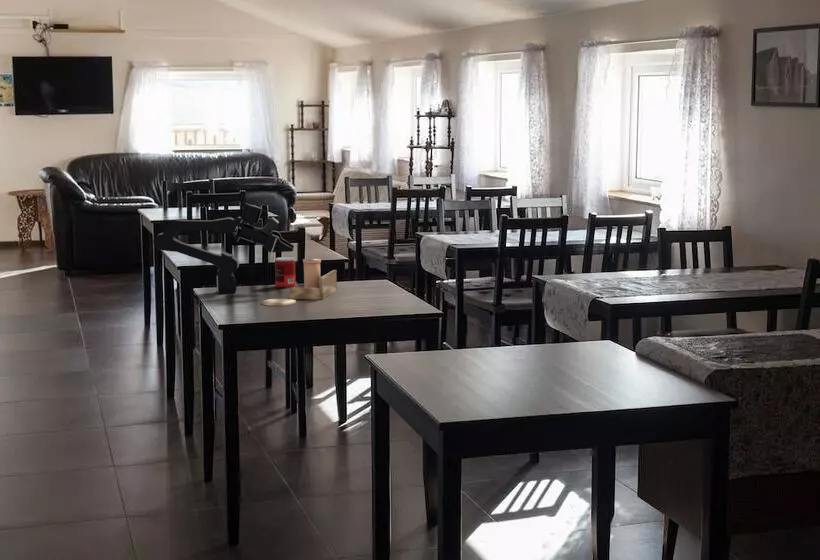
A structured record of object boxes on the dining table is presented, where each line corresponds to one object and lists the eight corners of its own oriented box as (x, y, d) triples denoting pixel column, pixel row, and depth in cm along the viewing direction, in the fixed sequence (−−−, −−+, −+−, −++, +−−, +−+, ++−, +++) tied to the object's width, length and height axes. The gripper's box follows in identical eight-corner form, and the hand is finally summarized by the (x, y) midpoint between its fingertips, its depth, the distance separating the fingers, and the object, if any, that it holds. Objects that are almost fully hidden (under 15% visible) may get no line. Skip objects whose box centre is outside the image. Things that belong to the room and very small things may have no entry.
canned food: (297, 285, 432) (296, 257, 431) (293, 288, 424) (292, 259, 423) (278, 284, 433) (277, 256, 431) (273, 288, 425) (272, 259, 424)
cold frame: (290, 298, 400) (289, 277, 399) (305, 289, 420) (305, 269, 419) (322, 299, 398) (322, 278, 396) (336, 290, 418) (336, 270, 417)
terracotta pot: (305, 296, 405) (305, 260, 403) (301, 293, 411) (301, 258, 409) (323, 295, 407) (322, 260, 405) (319, 292, 413) (318, 258, 411)
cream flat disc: (265, 306, 383) (265, 305, 383) (259, 301, 394) (259, 299, 394) (299, 304, 387) (299, 303, 386) (292, 299, 398) (292, 297, 398)
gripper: (259, 216, 402) (300, 231, 404) (262, 212, 421) (301, 226, 423) (249, 245, 404) (289, 259, 406) (252, 239, 422) (291, 253, 424)
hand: (293, 248), depth 414 cm, fingers open, 9 cm apart
